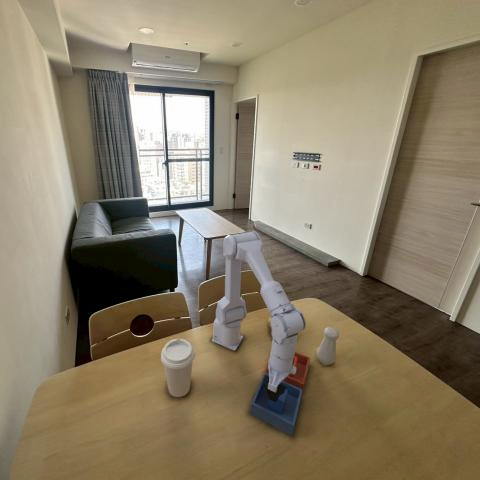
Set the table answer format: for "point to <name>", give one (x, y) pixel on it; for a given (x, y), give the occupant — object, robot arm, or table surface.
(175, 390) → the coffee cup
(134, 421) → the table surface
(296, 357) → the red block
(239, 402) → the table surface
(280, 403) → the blue block
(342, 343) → the table surface
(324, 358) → the salt shaker
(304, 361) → the red bin
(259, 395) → the blue bin
